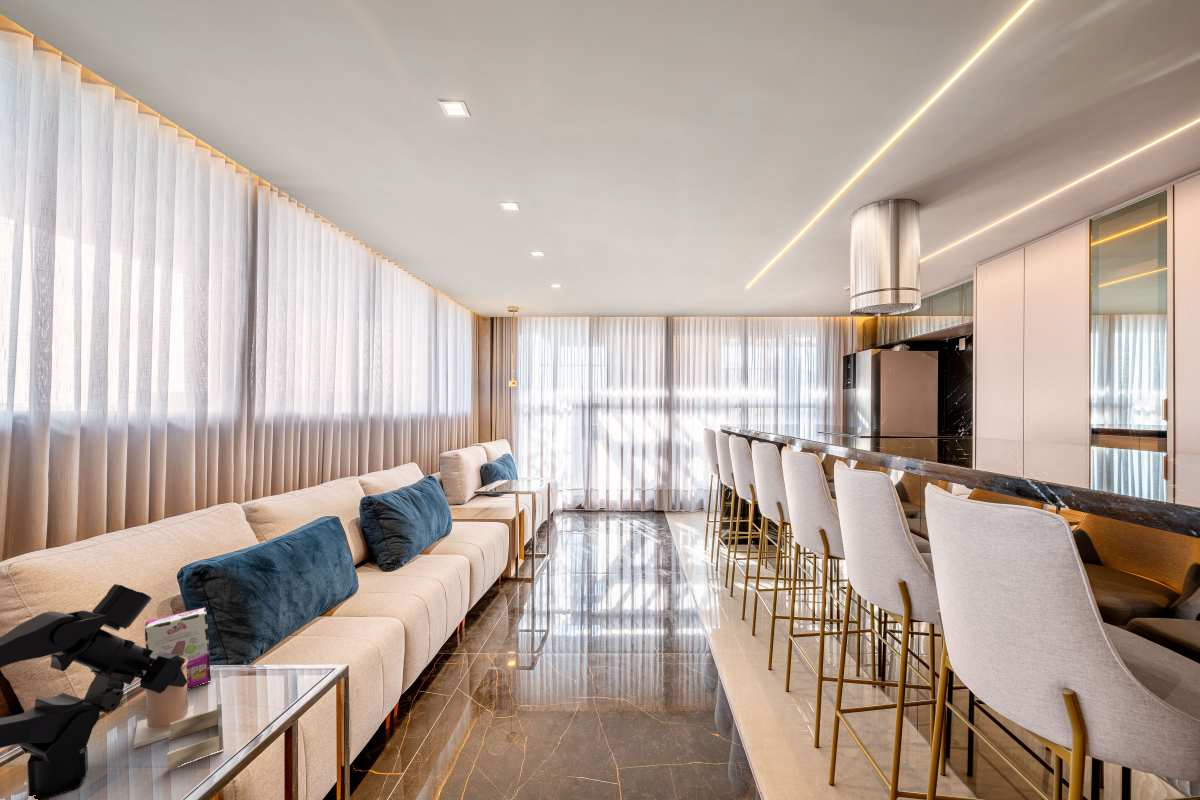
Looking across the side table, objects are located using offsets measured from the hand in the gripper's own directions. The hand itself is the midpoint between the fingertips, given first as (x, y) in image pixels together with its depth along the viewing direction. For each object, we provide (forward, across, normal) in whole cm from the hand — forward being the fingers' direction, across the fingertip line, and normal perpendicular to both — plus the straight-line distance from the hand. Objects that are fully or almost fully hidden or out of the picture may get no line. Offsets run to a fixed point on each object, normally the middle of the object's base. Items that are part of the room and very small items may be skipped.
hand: (173, 681), depth 108 cm
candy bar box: (+12, -14, 0) cm, 18 cm away
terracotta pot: (+4, 0, -6) cm, 7 cm away
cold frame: (+3, +11, -9) cm, 15 cm away
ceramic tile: (+5, 0, -7) cm, 9 cm away
